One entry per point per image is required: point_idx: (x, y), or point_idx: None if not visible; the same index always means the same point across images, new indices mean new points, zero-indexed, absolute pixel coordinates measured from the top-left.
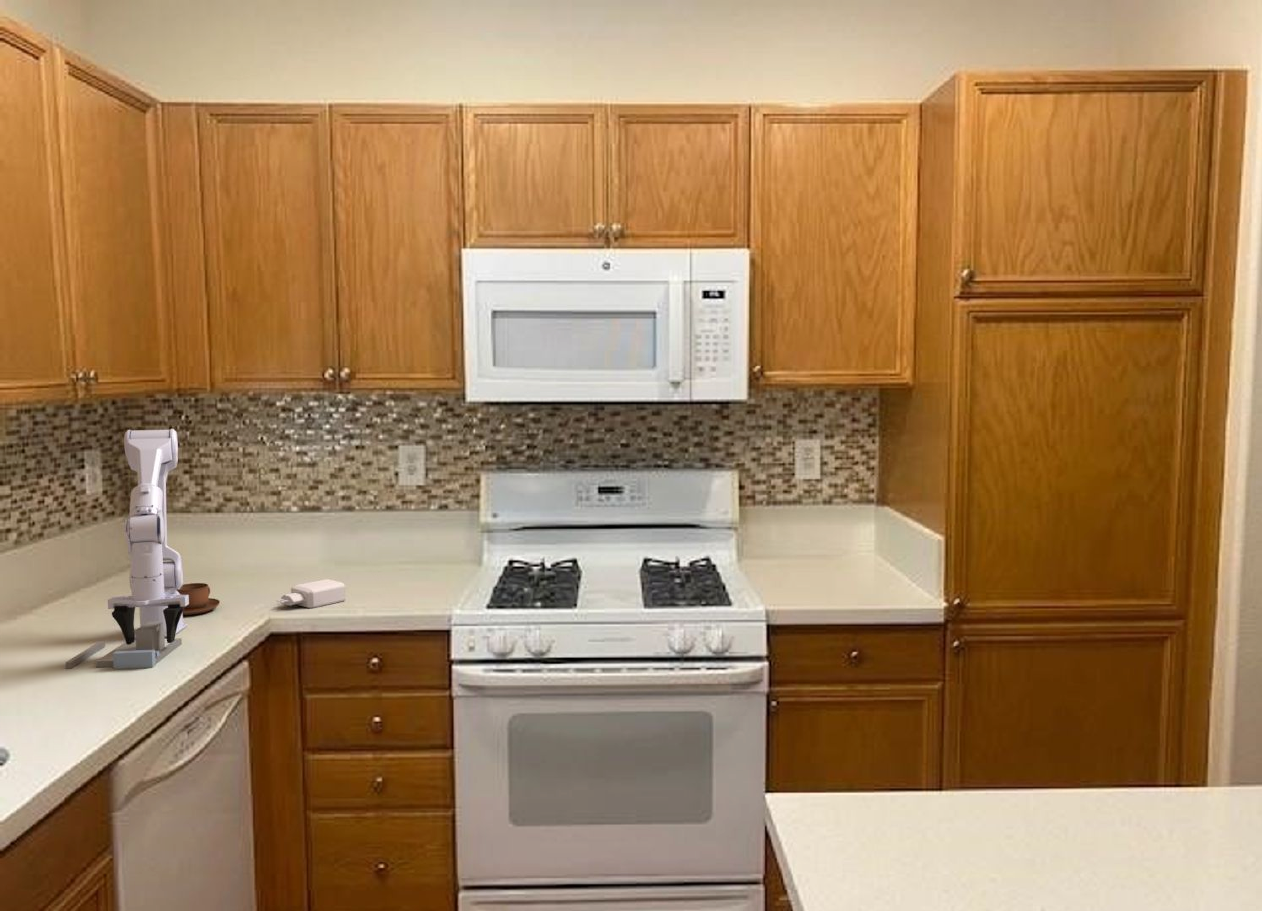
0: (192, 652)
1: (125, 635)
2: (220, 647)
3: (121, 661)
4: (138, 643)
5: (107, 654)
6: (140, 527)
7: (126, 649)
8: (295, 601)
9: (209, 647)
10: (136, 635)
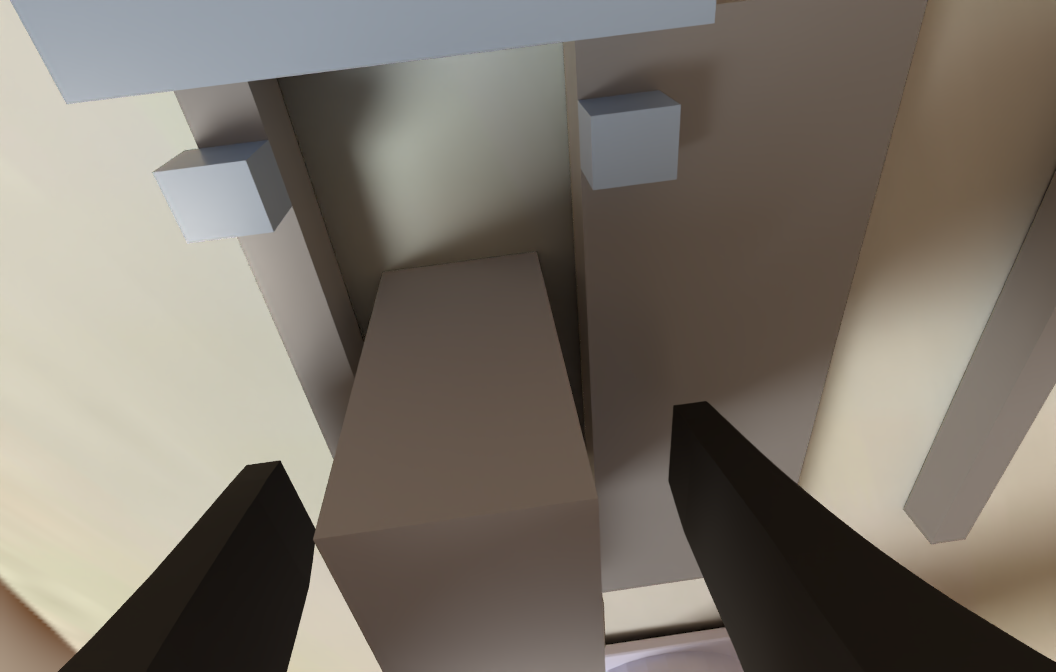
0: (157, 450)
1: (756, 466)
2: (34, 551)
3: None
4: (528, 352)
5: (846, 254)
6: None
7: (708, 399)
8: None
9: (128, 546)
10: (567, 430)
